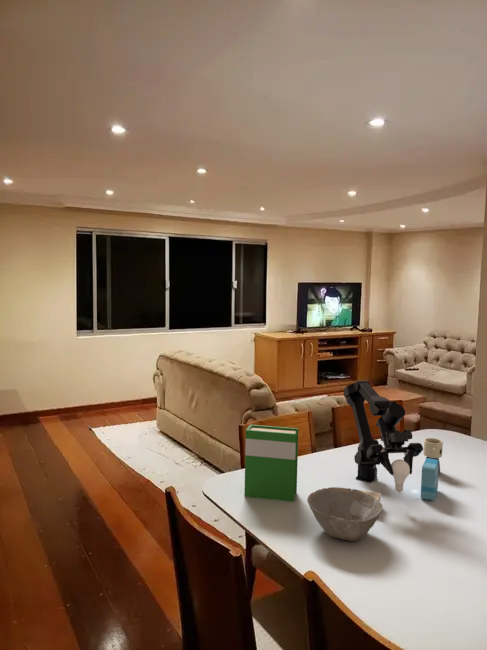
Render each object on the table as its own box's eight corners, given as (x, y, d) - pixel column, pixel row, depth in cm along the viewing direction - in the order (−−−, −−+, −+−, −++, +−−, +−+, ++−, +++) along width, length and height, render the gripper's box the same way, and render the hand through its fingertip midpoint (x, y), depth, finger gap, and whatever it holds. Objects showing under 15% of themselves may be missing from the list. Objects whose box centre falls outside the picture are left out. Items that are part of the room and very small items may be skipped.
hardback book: (296, 493, 185) (298, 428, 183) (294, 501, 178) (295, 434, 176) (248, 488, 189) (250, 424, 187) (244, 496, 182) (245, 430, 180)
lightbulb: (386, 487, 177) (387, 456, 176) (404, 487, 177) (405, 456, 176) (393, 495, 171) (394, 463, 169) (411, 495, 171) (413, 463, 170)
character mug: (442, 477, 203) (444, 445, 202) (423, 475, 205) (425, 443, 203) (439, 468, 213) (441, 437, 212) (421, 466, 215) (423, 435, 214)
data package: (433, 502, 180) (435, 469, 179) (420, 499, 182) (421, 466, 181) (437, 490, 190) (439, 458, 189) (424, 487, 192) (426, 456, 191)
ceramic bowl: (337, 561, 141) (339, 526, 140) (292, 525, 161) (293, 494, 160) (398, 543, 151) (399, 510, 150) (348, 511, 171) (349, 482, 171)
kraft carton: (355, 511, 172) (355, 498, 171) (358, 502, 178) (359, 489, 178) (377, 515, 169) (378, 501, 169) (379, 506, 176) (380, 493, 175)
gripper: (371, 421, 174) (383, 465, 164) (422, 420, 177) (437, 463, 167) (361, 436, 182) (372, 479, 173) (409, 435, 185) (423, 476, 176)
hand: (401, 474), depth 172 cm, fingers closed on lightbulb, 6 cm apart
